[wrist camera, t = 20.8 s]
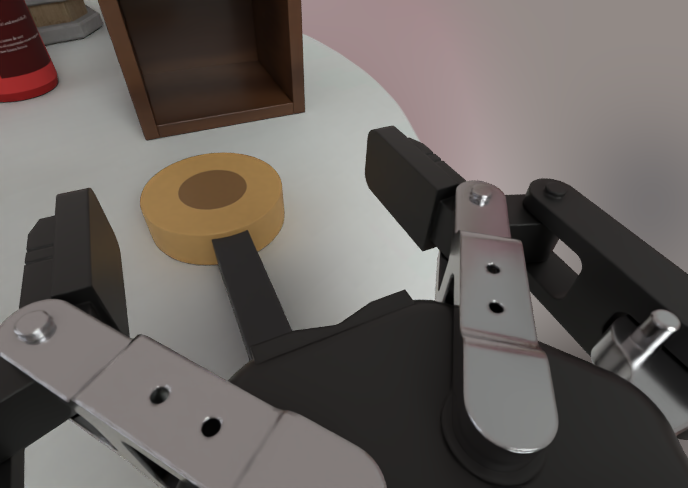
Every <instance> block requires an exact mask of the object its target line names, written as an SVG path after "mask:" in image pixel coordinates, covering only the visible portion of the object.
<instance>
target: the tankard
mask: <svg viewBox="0 0 688 488" xmlns="http://www.w3.org/2000/svg"><path fill="white" fill-rule="evenodd" d="M25 3H26V5H27V7H28V9H29V12H30V14H31V16H32V18H33V20H34V23H35V25H36V27H37V29H38V32H39V34H40V36H41V38H42V40H43V43H44V45H49V44H54V43H59V42H65V41H70V40H75V39H81V38H85V37H86V36H88V35H89V34H91V33H92V32H94V31H95V30H97V29H98V28H100V27H101V26H102V25H103V22H102V19H101V17H100V14H99V13H97V12H96V11H94V10H93V9H91V8H90V7H88V6H86V5H85V3H84V1H83V0H25Z"/></svg>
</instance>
